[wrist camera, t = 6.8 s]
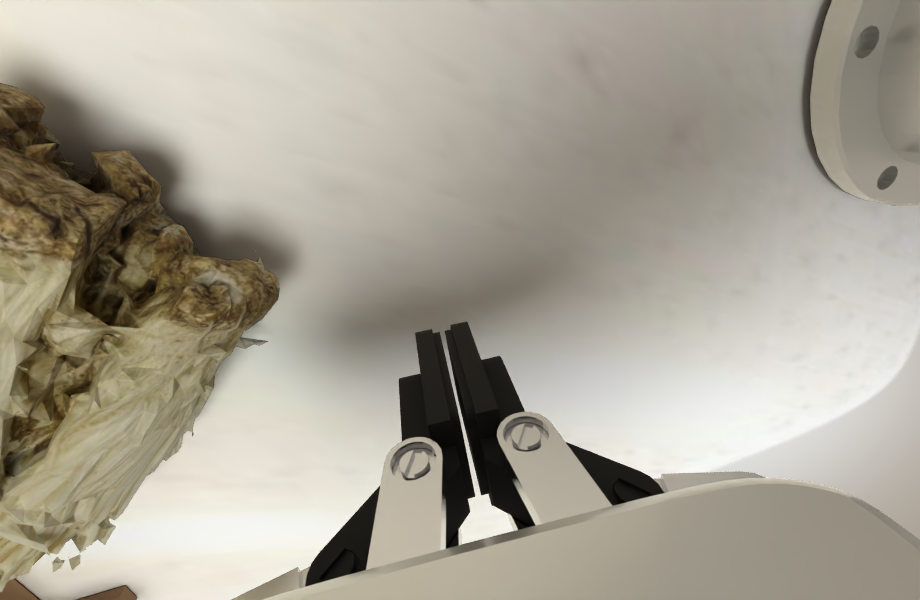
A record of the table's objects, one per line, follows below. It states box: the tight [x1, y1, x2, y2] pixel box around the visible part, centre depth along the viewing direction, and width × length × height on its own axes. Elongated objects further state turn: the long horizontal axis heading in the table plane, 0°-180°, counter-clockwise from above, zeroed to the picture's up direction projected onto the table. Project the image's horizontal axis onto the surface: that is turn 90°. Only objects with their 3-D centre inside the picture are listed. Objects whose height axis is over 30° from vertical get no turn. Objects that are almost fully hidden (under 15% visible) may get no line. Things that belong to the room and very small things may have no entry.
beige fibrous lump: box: [0, 83, 280, 592], centre depth 10 cm, size 14×10×5 cm, turn 140°
